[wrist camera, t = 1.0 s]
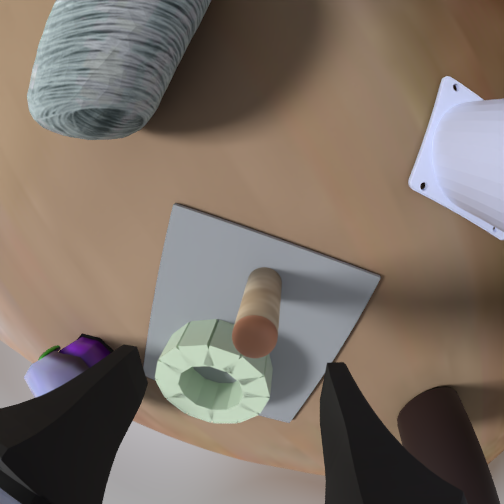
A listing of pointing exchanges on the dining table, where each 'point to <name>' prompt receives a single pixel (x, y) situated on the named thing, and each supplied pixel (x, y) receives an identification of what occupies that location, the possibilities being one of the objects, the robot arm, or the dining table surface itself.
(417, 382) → the dining table surface
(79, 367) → the potion bottle
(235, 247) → the mat
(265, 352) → the wooden dowel
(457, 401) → the vinegar
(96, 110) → the yarn skein
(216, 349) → the bead
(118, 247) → the dining table surface
